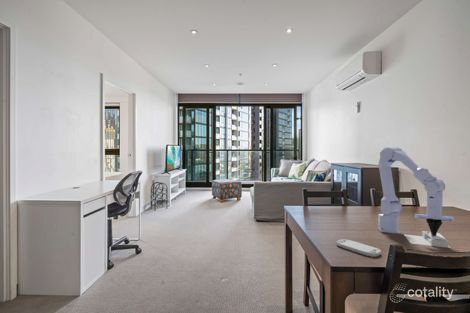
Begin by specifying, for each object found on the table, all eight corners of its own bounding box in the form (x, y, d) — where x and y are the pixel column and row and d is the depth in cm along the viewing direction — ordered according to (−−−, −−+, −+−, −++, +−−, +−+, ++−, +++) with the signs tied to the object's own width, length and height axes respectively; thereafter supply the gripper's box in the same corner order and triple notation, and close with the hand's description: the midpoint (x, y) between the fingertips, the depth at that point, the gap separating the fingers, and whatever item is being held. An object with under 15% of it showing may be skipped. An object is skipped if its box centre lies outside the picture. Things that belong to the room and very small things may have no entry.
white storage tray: (410, 244, 123) (411, 237, 123) (403, 235, 136) (403, 229, 136) (450, 248, 118) (451, 241, 118) (439, 238, 131) (439, 232, 131)
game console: (384, 249, 111) (374, 253, 107) (384, 254, 112) (373, 259, 107) (344, 237, 126) (333, 240, 121) (344, 242, 126) (333, 246, 121)
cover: (431, 238, 121) (431, 236, 121) (425, 232, 130) (425, 231, 130) (446, 240, 119) (446, 238, 119) (439, 234, 128) (439, 232, 128)
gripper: (418, 206, 123) (417, 236, 123) (457, 209, 118) (456, 240, 118) (414, 203, 130) (413, 231, 130) (450, 206, 125) (450, 235, 125)
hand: (433, 235), depth 125 cm, fingers closed, pressing on cover
